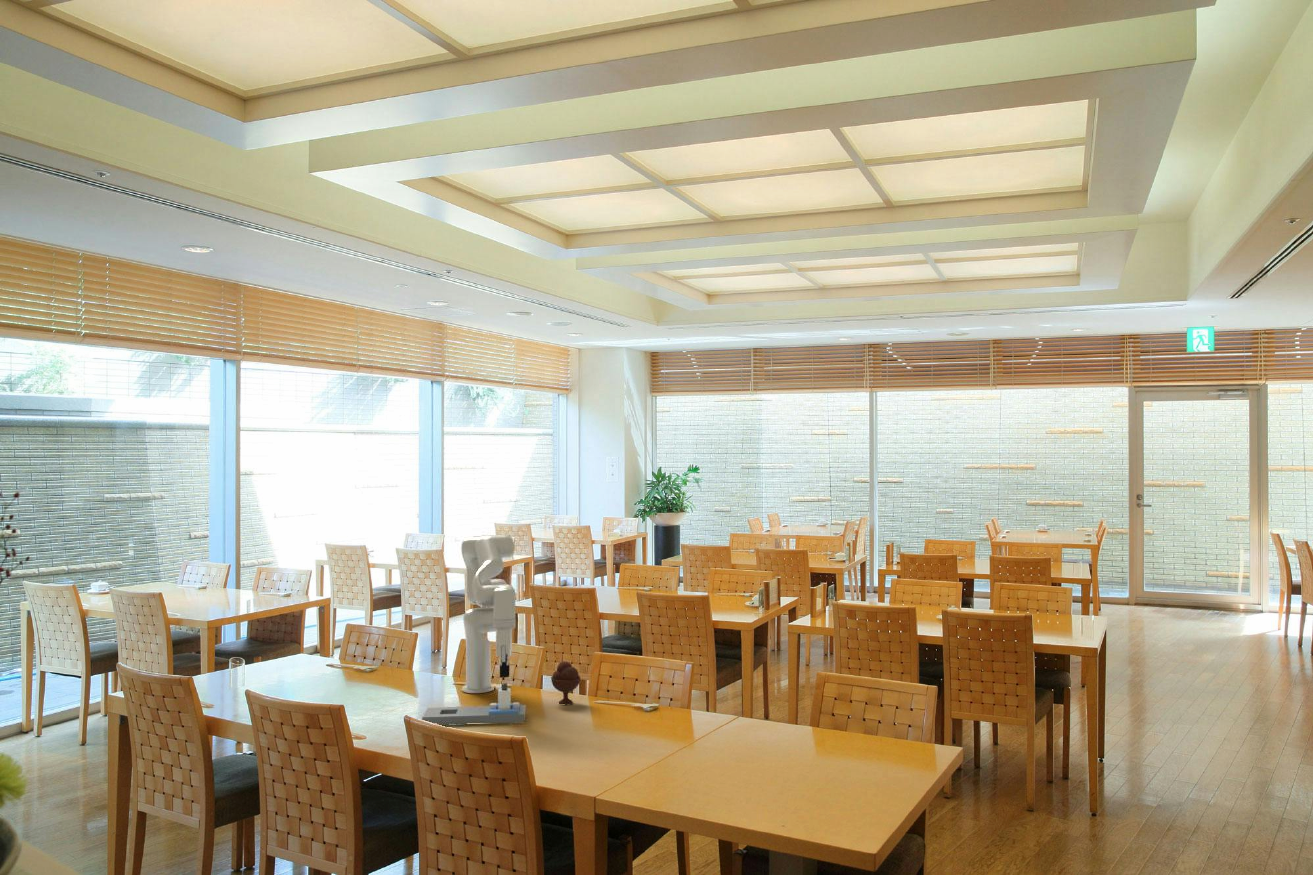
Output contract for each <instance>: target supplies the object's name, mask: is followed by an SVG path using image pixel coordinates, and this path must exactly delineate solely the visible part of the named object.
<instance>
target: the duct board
mask: <svg viewBox="0 0 1313 875" xmlns="http://www.w3.org/2000/svg"><path fill="white" fill-rule="evenodd" d="M526 708H527V705H526V704H521V703H520V702H517V701H516V702H511V709H498V703H497V702H491V703H490V704H489V705H479V706H478V705H477V706H474V705H473V706H443V707H439V706H438V707H427V708H426V710H425V712H424V713H423V715H422V718H421V719H422V720H425V721H429V722H432V723H437V724H439V725H446V726H450V725H449V724H456V725H455V726H458V725H457V724H467V723H510V724H514V723H513V722H517V723H516V724H519V723H518V722H524V723H525V721H526V720H525V719H526V715H527V710H526ZM524 720H525V721H524Z"/></svg>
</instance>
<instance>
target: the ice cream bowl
mask: <svg viewBox="0 0 1313 875" xmlns="http://www.w3.org/2000/svg"><path fill="white" fill-rule="evenodd" d="M550 679H551V680H550V681H551V684H552V687H554V688H555V690H557V691H558V692H561V693H562V694H563V698H562V699H560V700H559V701H558V703H559V704H571V703H573V704H574V702H573V700H572V699H570V698H569V693H570V692H573V691H574V690H575V689H576V688H577V687H578V686H579V685H580V682H581V675H579V671H578V669H577V668H575V667H574V666H573V665H572V664H571V663H570V662H569V661H561V662H559V664H558V665H557V668H556V671H554V672H553V674H552V676H551V677H550ZM559 704H558V705H559ZM571 705H572V704H571Z"/></svg>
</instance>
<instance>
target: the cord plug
mask: <svg viewBox="0 0 1313 875" xmlns="http://www.w3.org/2000/svg"><path fill="white" fill-rule="evenodd" d="M511 693H512V691H511V688H509V687H508V683H506V682H504V683H501V688H498V690H497V704H498V709H511V703H512V702H511V701H512V700H511V695H512V694H511Z"/></svg>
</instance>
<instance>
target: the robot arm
mask: <svg viewBox="0 0 1313 875" xmlns="http://www.w3.org/2000/svg"><path fill="white" fill-rule="evenodd" d="M460 550H461V556H462V559H463V562H464V565H465V568H466V596H467V597H466V598H467V601H468V603H469V604H471V605H477V606H478V607H475V608H470V609H468V610H467V611H465V613H463V626H464V634H465V685H463V686H462V687H461V691H462V692H464V693H468V694H483V693H484V694H485V693H488V692H489V693H490V692H492V691H494V690H495V689H494V686H495V685H494V684H493V683H492V682H491V681H492V680H491V678H492V677H491V676H492V675H491V674H492V671H491V670H492V669H491V666H492V663H491V661H492V656H491V654H492V653H491V649H492V648H491V647H492V646H491V641H490V639H488V637H487V636H486V635H485V633H493V632H495V659H498V658H499V663H500V665H499V677H500V678H509V677H510V658H511V655H512V647H513V646H512V644H513V629H515V628H516V589H515V588H514V586H513V585H511V584H507V582H506V580H504V579H502V578H501V579H500V578H495V577H497V576H498V575H500V574H501V573H502V572H503V570H504V567H505V565H504V561H503V558H505V559H507V558H510V557H512V556H513V555H514V554H515V550H516V549H515V542H514V539H513V538H512V536H510V535H509V534H495V535H493V534H492V535H491V534H490V535H488V534H487V535H483V536H473V537H468V538H465V539H463V540H462V542H461V548H460ZM491 685H494V686H491Z"/></svg>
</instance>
